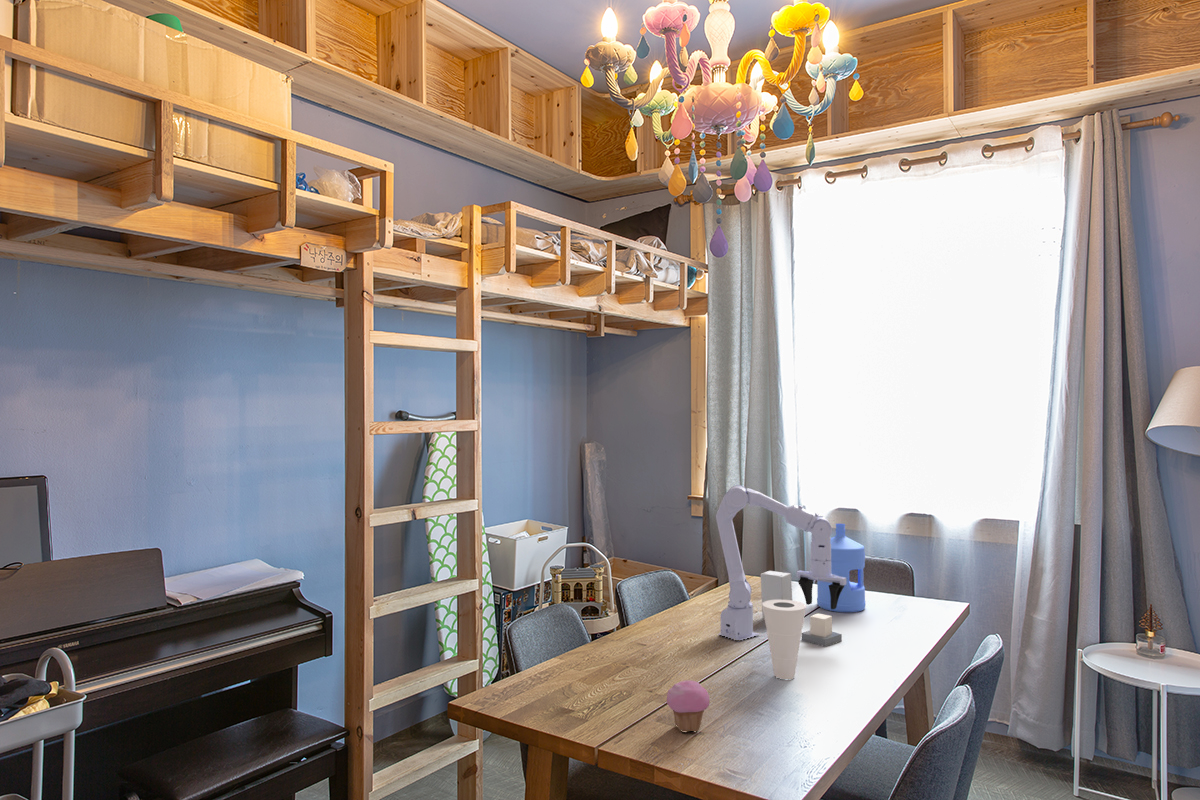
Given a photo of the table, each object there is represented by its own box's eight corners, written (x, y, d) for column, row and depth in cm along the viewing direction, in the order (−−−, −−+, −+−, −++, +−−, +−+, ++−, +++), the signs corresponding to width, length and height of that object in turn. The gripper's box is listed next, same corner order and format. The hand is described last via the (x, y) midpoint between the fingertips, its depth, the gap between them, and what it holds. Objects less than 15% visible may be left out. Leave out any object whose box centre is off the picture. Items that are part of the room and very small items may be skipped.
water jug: (816, 611, 249) (816, 526, 250) (817, 599, 264) (816, 520, 265) (866, 614, 245) (865, 528, 245) (864, 602, 260) (863, 521, 260)
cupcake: (705, 721, 162) (705, 674, 162) (712, 738, 153) (712, 689, 153) (664, 721, 161) (664, 675, 162) (669, 739, 153) (669, 690, 153)
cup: (775, 686, 182) (775, 612, 182) (755, 671, 192) (754, 601, 192) (814, 682, 184) (814, 608, 185) (792, 667, 195) (792, 598, 195)
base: (825, 646, 212) (825, 639, 212) (801, 639, 218) (801, 632, 218) (841, 641, 217) (841, 634, 217) (818, 634, 223) (818, 627, 223)
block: (824, 636, 215) (824, 619, 215) (810, 633, 218) (810, 616, 218) (832, 633, 218) (831, 616, 218) (817, 630, 221) (817, 613, 221)
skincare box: (793, 620, 239) (793, 573, 239) (783, 624, 235) (782, 576, 235) (771, 615, 245) (770, 569, 245) (760, 618, 241) (760, 572, 241)
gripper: (791, 557, 220) (791, 604, 220) (838, 564, 210) (838, 613, 210) (803, 554, 225) (803, 599, 225) (849, 561, 215) (849, 608, 215)
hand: (821, 606), depth 218 cm, fingers open, 7 cm apart
